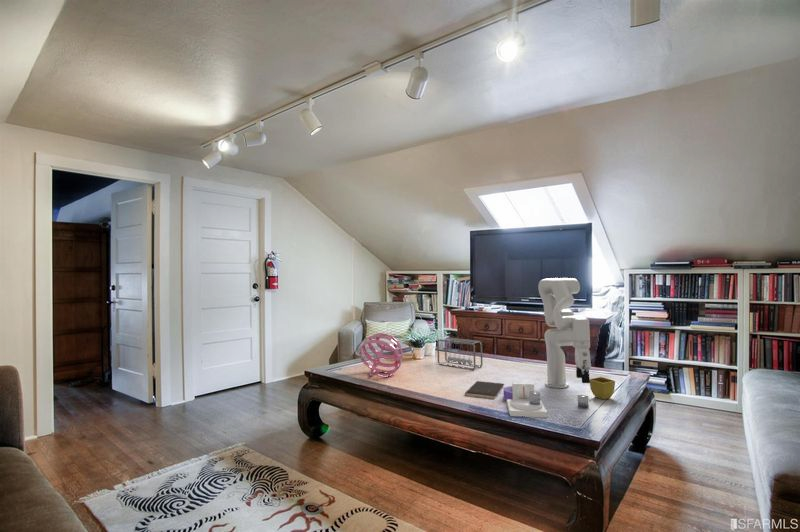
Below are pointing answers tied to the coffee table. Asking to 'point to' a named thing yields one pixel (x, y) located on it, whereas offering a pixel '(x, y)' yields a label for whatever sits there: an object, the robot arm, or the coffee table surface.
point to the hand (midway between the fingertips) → (582, 380)
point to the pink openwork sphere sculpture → (380, 354)
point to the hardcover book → (485, 389)
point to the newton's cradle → (458, 351)
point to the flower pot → (602, 387)
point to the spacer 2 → (583, 401)
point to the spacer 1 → (535, 398)
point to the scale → (524, 402)
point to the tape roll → (508, 393)
